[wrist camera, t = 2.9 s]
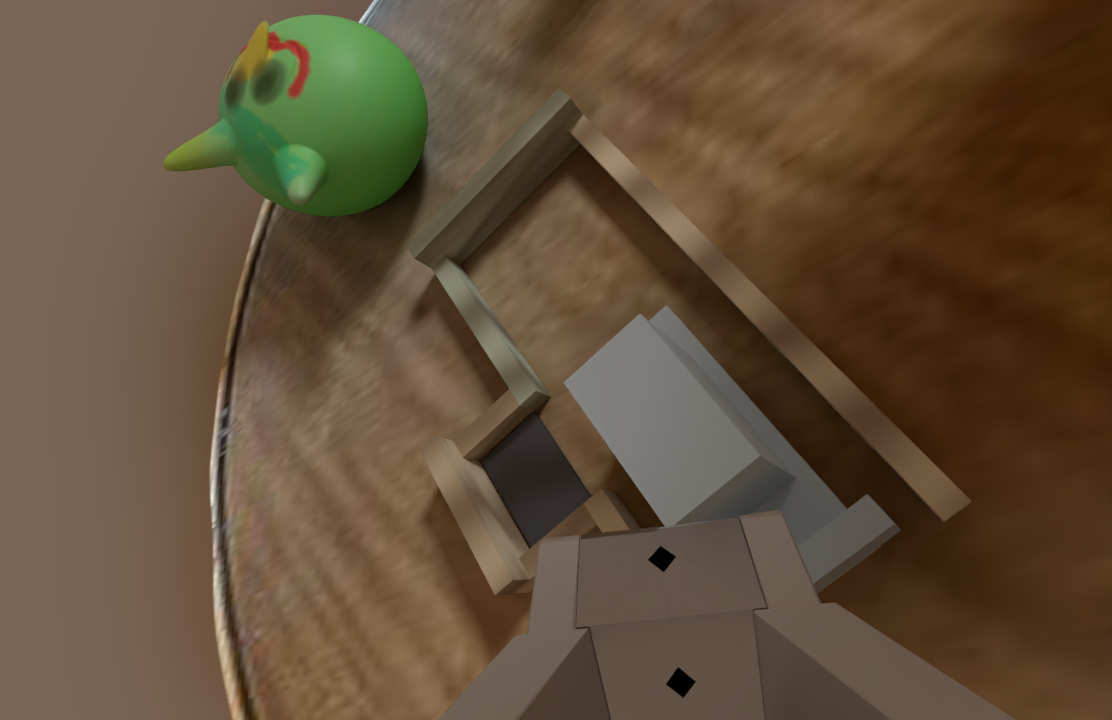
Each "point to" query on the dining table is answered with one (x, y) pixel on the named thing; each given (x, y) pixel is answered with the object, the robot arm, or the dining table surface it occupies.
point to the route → (530, 451)
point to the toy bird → (316, 117)
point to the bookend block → (713, 446)
